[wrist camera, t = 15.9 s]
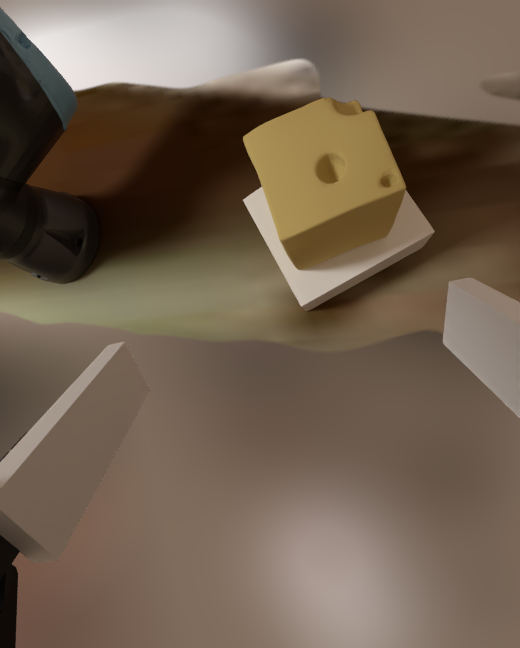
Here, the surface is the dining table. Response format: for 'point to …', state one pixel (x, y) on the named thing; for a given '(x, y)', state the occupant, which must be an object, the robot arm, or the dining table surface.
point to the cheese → (326, 179)
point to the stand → (348, 266)
